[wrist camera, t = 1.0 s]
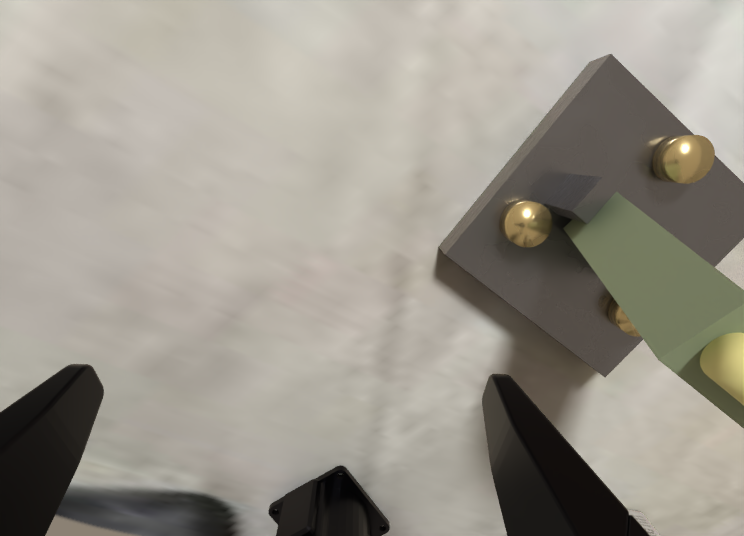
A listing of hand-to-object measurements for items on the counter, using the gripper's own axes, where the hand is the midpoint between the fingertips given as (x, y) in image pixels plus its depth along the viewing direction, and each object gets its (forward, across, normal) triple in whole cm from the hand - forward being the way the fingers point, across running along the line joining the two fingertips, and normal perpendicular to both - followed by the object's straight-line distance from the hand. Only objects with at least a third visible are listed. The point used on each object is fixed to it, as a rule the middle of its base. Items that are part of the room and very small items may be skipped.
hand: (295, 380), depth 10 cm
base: (+16, -15, +5) cm, 22 cm away
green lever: (+13, -15, +4) cm, 20 cm away
